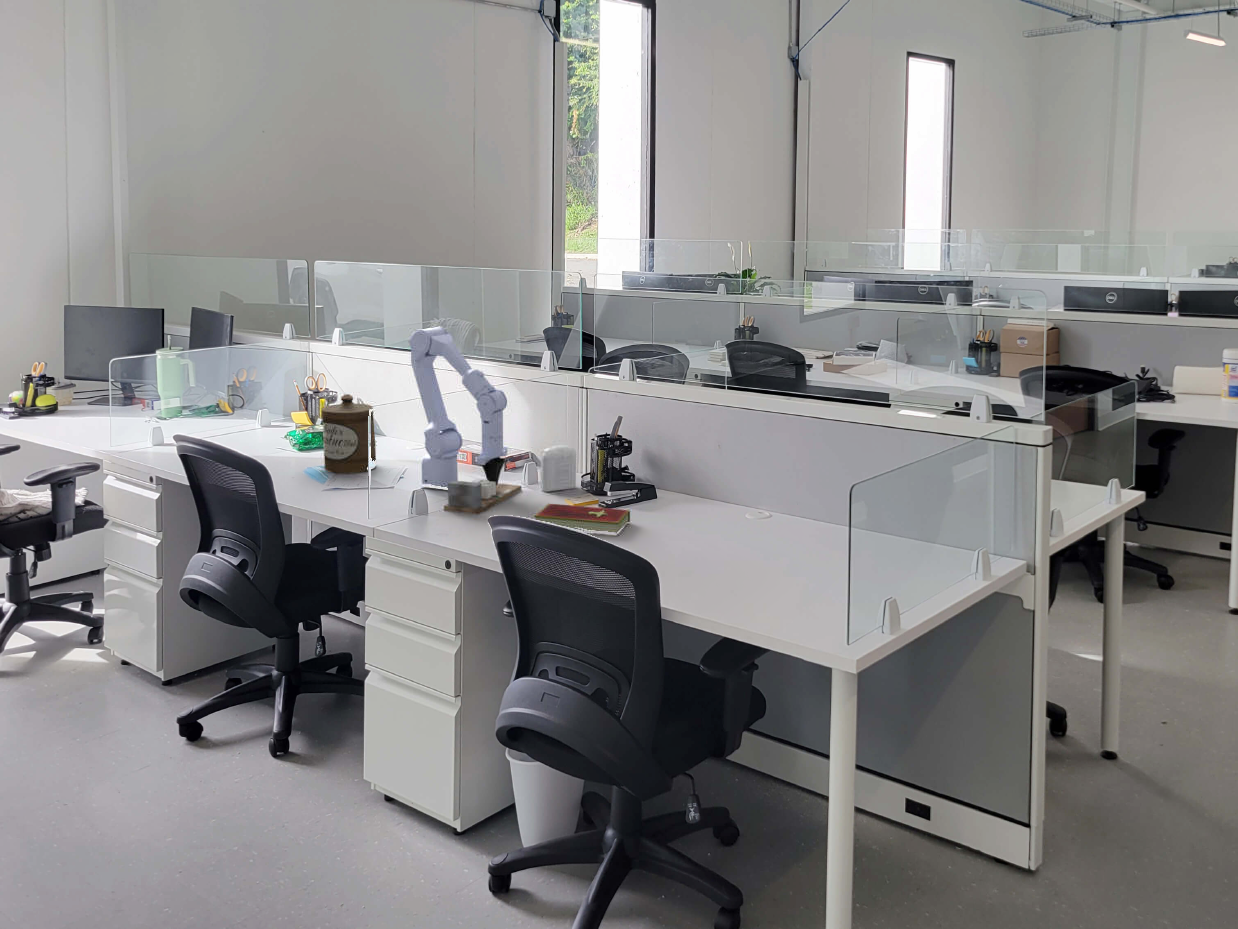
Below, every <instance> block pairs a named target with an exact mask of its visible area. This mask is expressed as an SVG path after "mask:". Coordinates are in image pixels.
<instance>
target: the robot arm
mask: <svg viewBox="0 0 1238 929" xmlns="http://www.w3.org/2000/svg"><path fill="white" fill-rule="evenodd" d="M408 344H409V347H410V350H411V351H410V365H411V368H412V371H413V373H414V374H413V375H414V378H415V383H416V384H417V385H416V386H417V389H418V392H419V395H420V398H421V401H422V406H423V410H424V413H425V416H426V420H427V423H428V425H427V426H426V428H425V430H424V431H423V435H424V438H425V440H424V449H425V450H426V452H427V454H425V455H424V456H423V458H422V460H421V461H422V462H421V485H422V484H431V485H435V486H441V487H447V488H448V483H449V482H451V481H453V480H455V481H459V478H458V475H459V474H458V469H459V468H458V455H459V450H460V449H462V446H463V438H462V435H461V433H460V432H459V430H458V429H457V425H456V423H454V422H453V421H452V420H450V419H449V417H448V414H447V411H446V407H445V403H444V399H443V397H442V392H441V390H440V385H439V383H438V382H439V381H438V379H437V374H436V370H435V368H434V365H433V364H434V362H435V360H436V359H437V357H443V359H444V360H446V362H448V364H449V365H450V366H451V367H452V368H453V369H454V370H455V371H456V372H457V373H458V374H459V375H460V376H461V378H462V379H461V384H462V385H463V386H464V388H465V389H466V390H467V391H468V392H469V394H470V395H471V396H472V397H473V398H474V400H475V401H476V408H477V410H478V412H479V414H480V419H481V452H480V453H479V455H478V456H477V457H476V465H480V466H481V467H482V469H483V471H484V473H485V474H484V475H485V476H486V480H489V481H492V482H496V485H497V484H498V483H499V480H500V477H501V476H500V475H501V471H502V469H503V467H504V464H505V463H506V458H504V457H506V456H508V446H504V411H505V409H506V407H507V405H508V399H507V396H506V394H505V393H504V391H503V390H501V389H496V388H495V386H494V385H492V384H491V383H490V382H489V380H488V379H487V378H486V377H485V373H484V372H483V371H482V370H481V371H480V370H479V369H475V368H472V366H471V365H470V364H469V362H468V361H467V360H466V358H465V357H464V356H463V354H462V353H461V352H460V350H459V349H458V348H457V346H456V345H455V342H454V339H453V336H452V335H451V334H450V333H449V332H448V330H447V329H446V328H445V327H443V326H435V327H429V328H424V329H423V328H422V329H421V328H420V329H419V328H418V329H416V330H414V331H413V333H412V334H411V336H410V337H409V340H408Z"/></svg>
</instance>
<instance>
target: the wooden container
mask: <svg viewBox="0 0 1238 929" xmlns="http://www.w3.org/2000/svg"><path fill="white" fill-rule="evenodd" d="M340 400H341V403H337V404H330V405H326V406H324V407H322V408H321V416H322V417H321V418H322V427H323V428H322V432H323V433H322V434H323V441H322V442H323V456H324V457H323V458H324V470H326V471H328V472H330V473H335V474H358V473H365V472H368V471H367V467H368V416H369V409H373V411H372V412H371V458H372V461H373V460H374V461H375V460H376V461H377V455H376V454H377V452H376V451H377V450H376V449H377V448H376V436H375V423H374V408H373V406H372V405H371V404H365V403H354V402H353V400H354V396H353V395H351V394H349V393H345V394H343V395H342V396H341V397H340Z"/></svg>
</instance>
